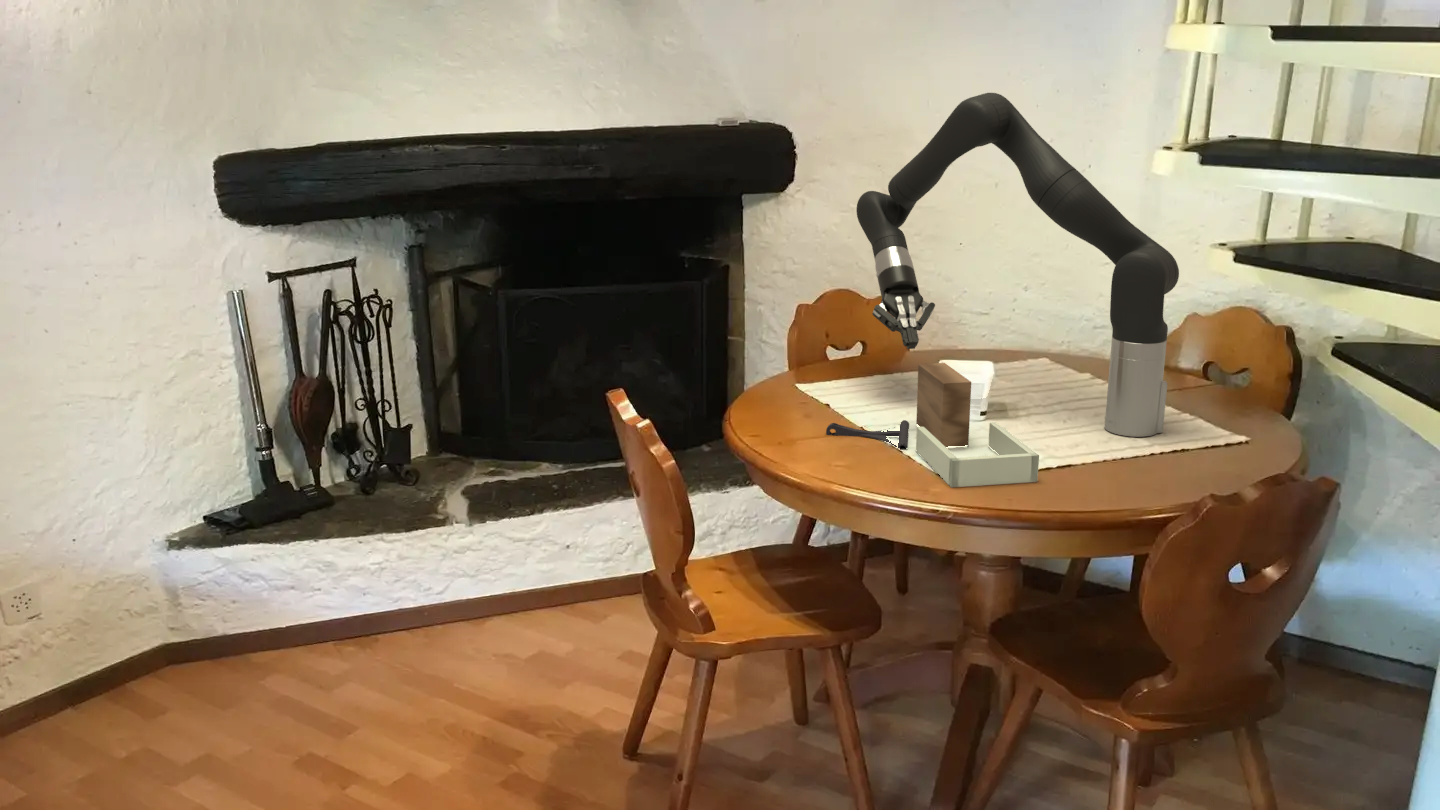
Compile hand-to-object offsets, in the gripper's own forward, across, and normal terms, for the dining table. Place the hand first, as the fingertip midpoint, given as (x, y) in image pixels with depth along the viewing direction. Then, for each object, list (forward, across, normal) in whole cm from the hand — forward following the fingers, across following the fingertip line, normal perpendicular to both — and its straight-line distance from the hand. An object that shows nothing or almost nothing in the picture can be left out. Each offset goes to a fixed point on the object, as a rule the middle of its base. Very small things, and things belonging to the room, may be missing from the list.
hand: (912, 346), depth 217 cm
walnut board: (+22, 0, -5) cm, 23 cm away
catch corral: (+34, 0, -16) cm, 37 cm away
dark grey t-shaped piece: (+21, -13, -2) cm, 25 cm away
